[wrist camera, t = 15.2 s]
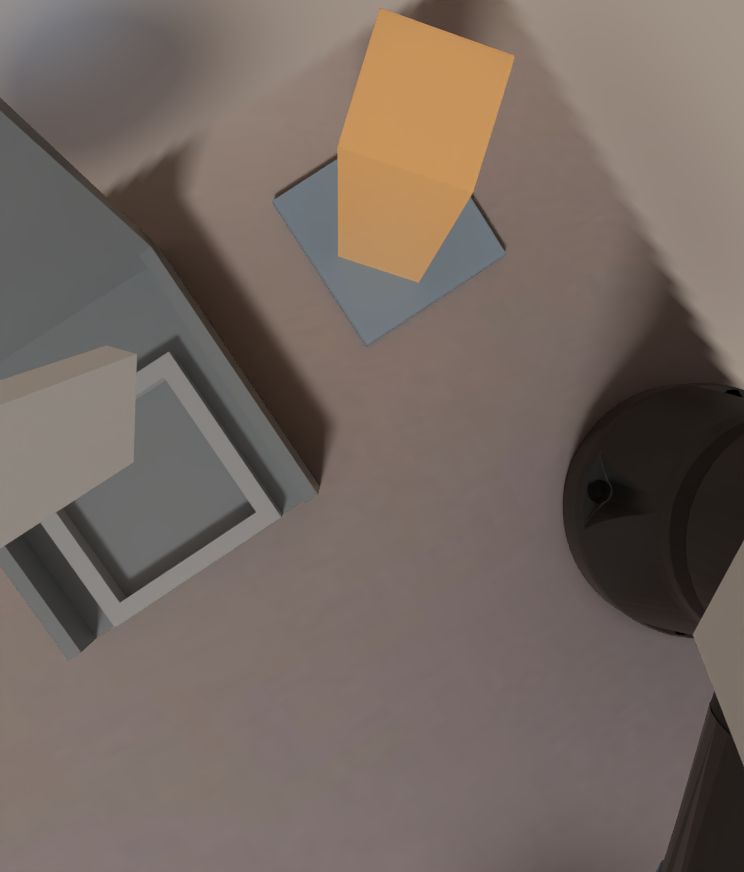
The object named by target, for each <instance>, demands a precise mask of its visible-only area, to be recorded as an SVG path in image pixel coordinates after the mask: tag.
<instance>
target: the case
mask: <svg viewBox="0 0 744 872" xmlns="http://www.w3.org/2000/svg"><path fill="white" fill-rule="evenodd" d="M104 346H110V347H114V348H118V349H121V350H125V351H128V352H132V353H136V354H137V368H136V401H135V434H134V462H133V463H132V464H130V465H129V466H127V467H125V468H124V469H122V470H121V471H119V472H118V473H116V474H115V475H113V476H112V477H110V478H108V479H107V480H105V481H104V482H102V483H101V484H99V485H98V486H96V487H94V488H93V489H91V490H90V491H88V492H87V493H85V494H84V495H82V496H81V497H79V498H77V499H76V500H74V501H73V502H71V503H70V504H68V505H67V506H65V507H64V508H62V509H60V510H59V511H57V512H56V513H54V514H53V515H51V516H50V517H48V518H47V519H45V520H43V521H42V522H40V523H39V524H37V525H36V526H34V527H33V528H31V529H30V530H28V531H26V532H25V533H23V534H22V535H20V536H19V537H17V538H16V539H14V540H13V541H11V542H9V543H8V544H6V545H5V546H3V547H2V548H0V566H1V568H2V569H3V571H4V572H5V573H6V575H7V576H8V578H9V579H10V580H11V582H12V583H13V585H14V586H15V587H16V589H17V590H18V591H19V593H20V594H21V596H22V597H23V598H24V600H25V601H26V603H27V604H28V605H29V607H30V608H31V610H32V611H33V612H34V614H35V615H36V617H37V618H38V619H39V621H40V622H41V623H42V625H43V626H44V628H45V629H46V630H47V632H48V633H49V635H50V636H51V637H52V639H53V640H54V642H55V643H56V644H57V646H58V647H59V649H60V650H61V651H62V653H63V654H64V655H65V657H66V658H67V660H68V661H69V660H70V659H72V658H73V657H75V656H76V655H78V654H79V653H81V652H82V651H83V650H84V649H85V648H86V647H87V646H88V645H89V644H91V643H92V642H93V641H94V640H95V639H96V638H97V637H99V636H100V635H102V634H103V633H105V632H106V631H108V630H109V629H111V628H112V627H117V626H118V625H120V624H121V623H123V622H124V621H126V620H127V619H129V618H130V617H132V616H133V615H135V614H136V613H138V612H139V611H141V610H142V609H144V608H145V607H147V606H148V605H150V604H151V603H153V602H154V601H156V600H157V599H159V598H160V597H162V596H163V595H165V594H166V593H168V592H169V591H171V590H172V589H174V588H175V587H177V586H178V585H180V584H181V583H183V582H184V581H186V580H187V579H189V578H190V577H192V576H193V575H195V574H196V573H198V572H199V571H201V570H202V569H204V568H205V567H207V566H208V565H210V564H211V563H213V562H214V561H216V560H217V559H219V558H221V557H222V556H224V555H225V554H227V553H228V552H230V551H231V550H233V549H234V548H236V547H237V546H239V545H240V544H242V543H243V542H245V541H246V540H248V539H249V538H251V537H252V536H254V535H255V534H257V533H258V532H260V531H261V530H263V529H264V528H266V527H267V526H269V525H270V524H272V523H273V522H275V521H276V520H278V519H279V518H281V517H282V515H283V514H284V513H285V512H287V511H288V510H290V509H291V508H293V507H294V506H296V505H297V504H299V503H300V502H302V501H303V500H304V501H305V503H306V502H308V501H309V500H311V499H312V498H314V497H315V496H317V495H318V493H319V489H320V486H319V485H318V483H317V482H316V480H315V479H314V477H313V476H312V474H311V473H310V471H309V470H308V468H307V467H306V465H305V464H304V462H303V461H302V459H301V458H300V456H299V455H298V453H297V452H296V450H295V449H294V447H293V446H292V444H291V443H290V442H289V440H288V439H287V437H286V436H285V434H284V433H283V431H282V430H281V428H280V427H279V425H278V424H277V422H276V421H275V419H274V418H273V416H272V415H271V413H270V412H269V410H268V409H267V407H266V406H265V404H264V403H263V401H262V400H261V398H260V397H259V395H258V394H257V392H256V391H255V389H254V388H253V386H252V385H251V383H250V382H249V380H248V379H247V377H246V376H245V375H244V373H243V372H242V370H241V369H240V367H239V366H238V364H237V363H236V361H235V360H234V358H233V357H232V355H231V354H230V352H229V351H228V349H227V348H226V346H225V345H224V343H223V342H222V340H221V339H220V337H219V336H218V334H217V333H216V331H215V330H214V328H213V327H212V325H211V324H210V322H209V321H208V319H207V318H206V316H205V315H204V313H203V312H202V310H201V309H200V308H199V306H198V305H197V303H196V302H195V300H194V299H193V297H192V296H191V294H190V293H189V291H188V290H187V288H186V287H185V285H184V284H183V282H182V281H181V279H180V278H179V276H178V275H177V273H176V272H175V270H174V269H173V267H172V266H171V264H170V263H169V261H168V260H167V258H166V257H165V255H164V254H163V252H162V251H161V249H160V248H159V247H158V246H157V245H156V244H155V243H154V242H153V241H152V240H151V239H150V238H149V237H148V236H147V235H146V234H145V233H144V232H142V231H141V230H140V229H139V228H138V227H137V226H136V225H135V224H134V223H133V222H132V221H131V220H130V219H129V218H128V217H127V216H125V215H124V214H123V213H122V212H121V211H120V210H119V209H118V208H117V207H116V206H115V205H114V204H113V203H112V202H111V201H110V200H108V199H107V198H106V197H105V196H104V195H103V194H102V193H101V192H100V191H99V190H98V189H97V188H96V187H94V185H92V184H91V183H90V182H89V181H88V180H87V179H86V178H85V177H84V176H83V175H82V174H81V173H80V172H79V171H78V170H76V169H75V168H74V167H73V166H72V165H71V164H70V163H69V162H68V161H67V160H66V159H65V158H64V157H63V156H62V155H61V154H59V153H58V152H57V151H56V150H55V149H54V148H53V147H52V146H51V145H50V144H49V143H48V142H47V141H46V140H44V139H43V137H41V136H40V135H39V134H38V133H37V132H36V131H35V130H34V129H33V128H32V127H31V126H30V125H29V124H28V123H26V121H24V120H23V119H22V118H21V117H20V116H19V115H18V114H17V113H16V112H15V111H14V110H13V109H12V108H11V107H10V106H8V105H7V104H6V103H5V102H4V101H3V100H2V99H1V98H0V380H3V379H6V378H9V377H12V376H15V375H18V374H21V373H24V372H27V371H30V370H33V369H36V368H39V367H42V366H45V365H49V364H52V363H55V362H58V361H61V360H64V359H67V358H70V357H73V356H76V355H79V354H82V353H85V352H88V351H91V350H94V349H97V348H100V347H104Z"/></svg>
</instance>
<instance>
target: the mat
mask: <svg viewBox="0 0 744 872" xmlns="http://www.w3.org/2000/svg"><path fill="white" fill-rule="evenodd" d="M272 202H273V205H274V206H275V208H276V209H277V211H278V212H279V214H280V215H281V217H282V218H283V220H284V221H285V223H286V224H287V226H288V227H289V229H290V231H291V232H292V234H293V235H294V237H295V238H296V240H297V241H298V243H299V244H300V246H301V247H302V249H303V250H304V252H305V253H306V255H307V256H308V258H309V260H310V261H311V263H312V264H313V266H314V267H315V269H316V270H317V272H318V273H319V275H320V276H321V278H322V279H323V281H324V282H325V284H326V286H327V287H328V289H329V290H330V292H331V293H332V295H333V296H334V298H335V299H336V301H337V302H338V304H339V305H340V307H341V308H342V310H343V311H344V313H345V315H346V316H347V318H348V319H349V321H350V322H351V324H352V325H353V327H354V328H355V330H356V331H357V333H358V334H359V336H360V337H361V339H362V341H363V342H364V344H365V345H366V346H368V345H370V344H371V343H373V342H374V341H376V340H377V339H379V338H380V337H382V336H383V335H385V334H386V333H388V332H389V331H391V330H392V329H394V328H395V327H397V326H398V325H400V324H401V323H403V322H404V321H406V320H408V319H409V318H411V317H412V316H414V315H415V314H417V313H418V312H420V311H421V310H423V309H424V308H426V307H427V306H429V305H430V304H432V303H433V302H435V301H436V300H438V299H439V298H441V297H442V296H444V295H446V294H447V293H449V292H450V291H452V290H453V289H455V288H456V287H458V286H459V285H461V284H462V283H464V282H465V281H467V280H468V279H470V278H471V277H473V276H474V275H476V274H477V273H479V272H480V271H482V270H484V269H485V268H487V267H488V266H490V265H491V264H493V263H494V262H496V261H497V260H499V259H500V258H502V257H503V256H505V255H506V253H505V251H504V249H503V248H502V246H501V245H500V243H499V241H498V240H497V238H496V237H495V235H494V233H493V232H492V230H491V229H490V227H489V226H488V224H487V222H486V221H485V219H484V218H483V216H482V214H481V213H480V211H479V210H478V208H477V206H476V205H475V203H474V202H473V200H472V199H471V197H470V198H469V200H468V202H467V203H466V205H465V207H464V208H463V210H462V212H461V213H460V215H459V217H458V218H457V220H456V222H455V223H454V225H453V227H452V228H451V230H450V232H449V233H448V235H447V237H446V238H445V240H444V242H443V243H442V245H441V247H440V248H439V250H438V252H437V253H436V255H435V257H434V258H433V260H432V262H431V263H430V265H429V267H428V268H427V270H426V271H425V273H424V275H423V276H422V278H421V280H420V281H419V283H418V282H415V281H412V280H409V279H406V278H403V277H399V276H396V275H393V274H390V273H387V272H384V271H381V270H378V269H375V268H372V267H369V266H366V265H363V264H360V263H357V262H353V261H350V260H347V259H344V258H341V257H338V159H336V160H335V161H333V162H332V163H330V164H329V165H327V166H325V167H324V168H322V169H321V170H319V171H318V172H316V173H315V174H313V175H312V176H310V177H308V178H307V179H305V180H304V181H302V182H301V183H299V184H298V185H296V186H294V187H293V188H291V189H290V190H288V191H287V192H285V193H284V194H282V195H281V196H279V197H277V198H276V199H274V200H273V201H272Z"/></svg>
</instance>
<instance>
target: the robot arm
mask: <svg viewBox="0 0 744 872" xmlns="http://www.w3.org/2000/svg"><path fill="white" fill-rule="evenodd" d="M136 368H137V354H136V353H132V352H128V351H125V350H121V349H118V348H114V347H110V346H104V347H100V348H97V349H94V350H91V351H88V352H85V353H82V354H79V355H76V356H73V357H70V358H67V359H64V360H61V361H58V362H55V363H52V364H49V365H45V366H42V367H39V368H36V369H33V370H30V371H27V372H24V373H21V374H18V375H15V376H12V377H9V378H6V379H3V380H0V548H2V547H3V546H5V545H6V544H8V543H9V542H11V541H13V540H14V539H16V538H17V537H19V536H20V535H22V534H23V533H25V532H26V531H28V530H30V529H31V528H33V527H34V526H36V525H37V524H39V523H40V522H42V521H43V520H45V519H47V518H48V517H50V516H51V515H53V514H54V513H56V512H57V511H59V510H60V509H62V508H64V507H65V506H67V505H68V504H70V503H71V502H73V501H74V500H76V499H77V498H79V497H81V496H82V495H84V494H85V493H87V492H88V491H90V490H91V489H93V488H94V487H96V486H98V485H99V484H101V483H102V482H104V481H105V480H107V479H108V478H110V477H112V476H113V475H115V474H116V473H118V472H119V471H121V470H122V469H124V468H125V467H127V466H129V465H130V464H132V463H133V462H134V434H135V401H136ZM563 518H564V527H565V533H566V537H567V541H568V544H569V548H570V551H571V553H572V556H573V558H574V560H575V562H576V564H577V566H578V568H579V570H580V571H581V573H582V575H583V576H584V577H585V579H586V580H587V582H588V583H589V584H590V585H591V586H592V588H593V589H594V590H595V591H596V592H597V593H598V594H599V595H600V596H601V597H602V598H603V599H605V600H606V601H607V602H608V603H610V604H611V605H612V606H614V607H615V608H617V609H618V610H620V611H621V612H622V613H624V614H625V615H627V616H628V617H630V618H632V619H633V620H635V621H636V622H638V623H640V624H642V625H644V626H647V627H649V628H651V629H654V630H656V631H659V632H662V633H665V634H669V635H673V636H679V637H687V638H694V639H695V642H696V645H697V647H698V650H699V652H700V655H701V657H702V660H703V663H704V665H705V668H706V670H707V673H708V675H709V678H710V681H711V683H712V686H713V688H714V694H713V697H712V700H711V702H710V704H709V707H708V711H707V715H706V718H705V722H704V725H703V729H702V732H701V736H700V739H699V743H698V746H697V750H696V753H695V757H694V761H693V764H692V768H691V771H690V775H689V778H688V782H687V785H686V789H685V792H684V796H683V799H682V803H681V807H680V810H679V814H678V817H677V820H676V824H675V827H674V830H673V833H672V836H671V840H670V843H669V846H668V849H667V853H666V856H665V859H664V860H662V861H661V863H660V865H659V867H658V869H657V871H656V872H744V390H742V389H739V388H735V387H731V386H726V385H719V384H710V383H693V384H681V385H671V386H664V387H659V388H655V389H651V390H648V391H645V392H642V393H640V394H637V395H635V396H633V397H631V398H629V399H627V400H625V401H624V402H622V403H620V404H619V405H617V406H616V407H615V408H613V409H612V410H611V411H609V412H608V413H607V414H606V415H605V416H604V417H603V418H601V419H600V420H599V421H598V422H597V424H596V425H595V426H594V427H593V428H592V429H591V431H590V432H589V433H588V435H587V436H586V437H585V439H584V440H583V442H582V443H581V445H580V447H579V449H578V451H577V452H576V455H575V457H574V459H573V461H572V464H571V467H570V469H569V473H568V476H567V480H566V485H565V491H564V500H563Z"/></svg>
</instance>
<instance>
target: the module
mask: <svg viewBox="0 0 744 872" xmlns="http://www.w3.org/2000/svg"><path fill="white" fill-rule="evenodd" d="M514 58H515V56H514V55H511V54H508V53H505V52H503V51H500V50H497V49H494V48H491V47H489V46H486V45H483V44H480V43H477V42H475V41H472V40H469V39H466V38H463V37H460V36H458V35H455V34H452V33H449V32H446V31H444V30H441V29H438V28H435V27H432V26H430V25H427V24H424V23H421V22H418V21H416V20H413V19H410V18H407V17H404V16H402V15H399V14H396V13H393V12H390V11H388V10H385V9H382V8H380V9H379V12H378V16H377V19H376V22H375V25H374V29H373V32H372V35H371V39H370V42H369V45H368V48H367V52H366V55H365V58H364V62H363V65H362V68H361V71H360V75H359V78H358V81H357V85H356V88H355V91H354V94H353V98H352V101H351V104H350V108H349V111H348V114H347V117H346V121H345V124H344V127H343V131H342V134H341V137H340V140H339V144H338V257H341V258H344V259H347V260H350V261H353V262H357V263H360V264H363V265H366V266H369V267H372V268H375V269H378V270H381V271H384V272H387V273H390V274H393V275H396V276H399V277H403V278H406V279H409V280H412V281H415V282H418V283H419V281H420V280H421V278H422V276H423V275H424V273H425V271H426V270H427V268H428V267H429V265H430V263H431V262H432V260H433V258H434V257H435V255H436V253H437V252H438V250H439V248H440V247H441V245H442V243H443V242H444V240H445V238H446V237H447V235H448V233H449V232H450V230H451V228H452V227H453V225H454V223H455V222H456V220H457V218H458V217H459V215H460V213H461V212H462V210H463V208H464V207H465V205H466V203H467V202H468V200H469V198H470V197H471V195H472V193H473V191H474V188H475V185H476V181H477V178H478V175H479V172H480V168H481V165H482V162H483V159H484V155H485V152H486V149H487V146H488V142H489V139H490V136H491V133H492V129H493V126H494V123H495V120H496V116H497V113H498V110H499V107H500V103H501V100H502V97H503V94H504V90H505V87H506V84H507V81H508V78H509V74H510V71H511V68H512V65H513V61H514Z"/></svg>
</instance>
